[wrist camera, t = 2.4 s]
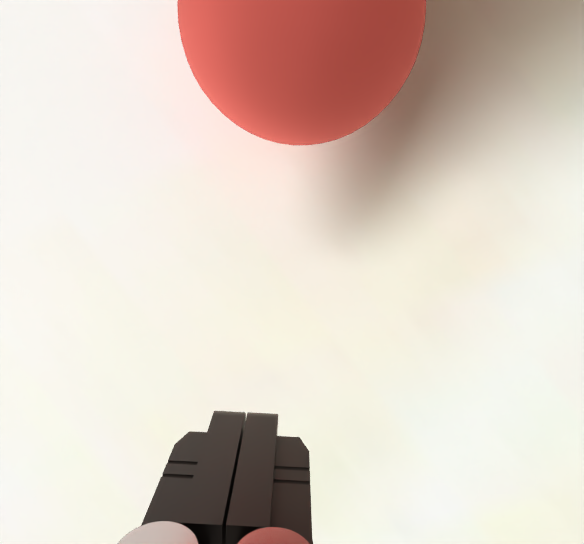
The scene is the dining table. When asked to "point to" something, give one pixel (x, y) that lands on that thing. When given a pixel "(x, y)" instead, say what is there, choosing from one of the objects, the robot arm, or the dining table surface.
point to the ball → (301, 61)
